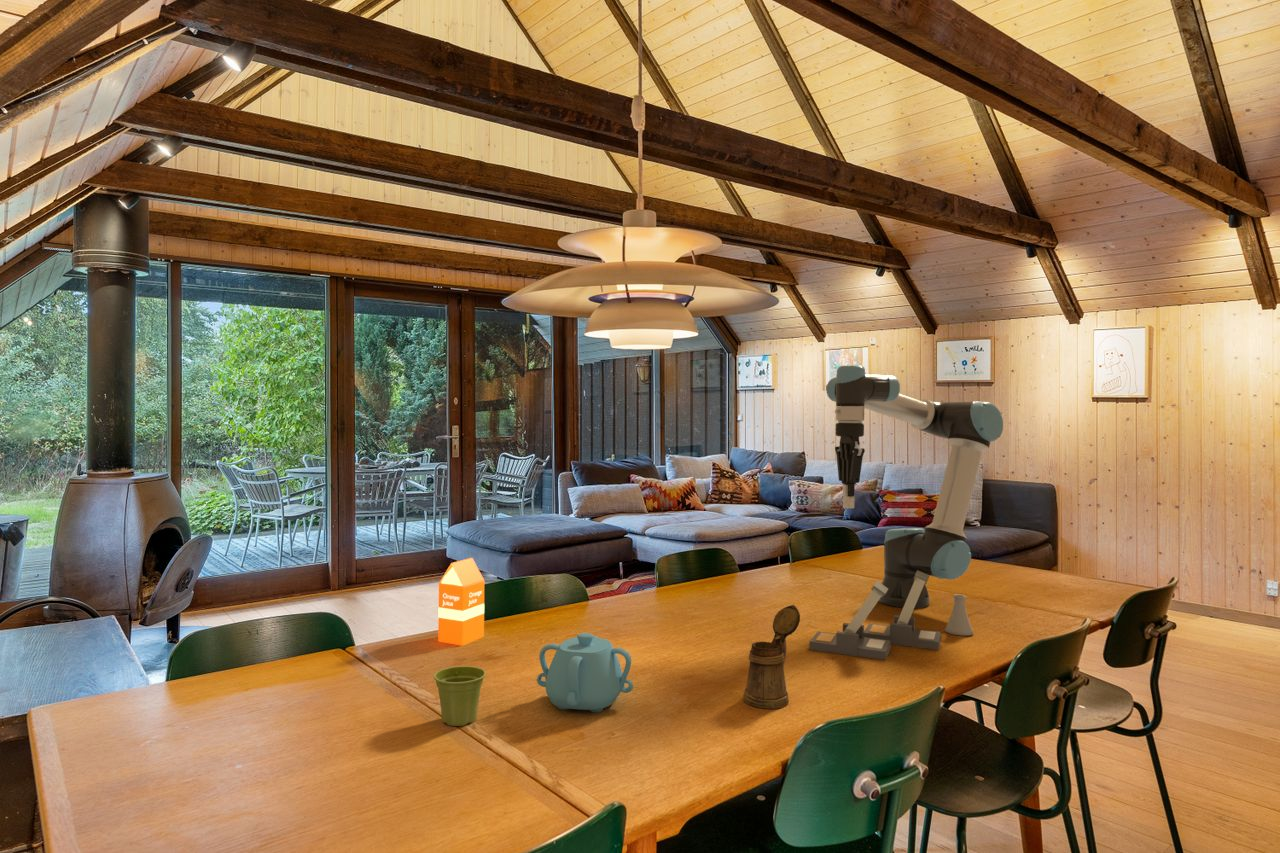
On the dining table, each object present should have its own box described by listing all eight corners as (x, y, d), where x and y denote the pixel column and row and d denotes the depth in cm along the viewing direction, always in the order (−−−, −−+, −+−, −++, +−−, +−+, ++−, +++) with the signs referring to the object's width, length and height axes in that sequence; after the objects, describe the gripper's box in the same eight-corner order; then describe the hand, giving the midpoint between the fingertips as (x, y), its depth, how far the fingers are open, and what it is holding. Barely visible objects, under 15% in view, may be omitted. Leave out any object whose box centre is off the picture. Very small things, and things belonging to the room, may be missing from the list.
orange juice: (484, 636, 196) (485, 558, 195) (462, 645, 188) (463, 564, 187) (459, 632, 199) (460, 555, 199) (437, 641, 191) (438, 561, 191)
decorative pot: (639, 710, 148) (641, 640, 148) (562, 724, 140) (563, 650, 140) (603, 683, 162) (605, 620, 162) (532, 695, 155) (533, 628, 155)
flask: (968, 629, 208) (969, 593, 208) (977, 637, 200) (978, 599, 200) (941, 628, 208) (941, 592, 208) (949, 636, 201) (949, 598, 201)
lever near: (840, 633, 187) (873, 585, 183) (844, 627, 192) (877, 580, 189) (851, 642, 186) (885, 593, 182) (855, 635, 191) (888, 588, 188)
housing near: (809, 649, 188) (809, 629, 188) (817, 638, 197) (818, 619, 197) (885, 660, 180) (885, 639, 180) (890, 648, 189) (891, 628, 189)
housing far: (863, 640, 196) (863, 621, 196) (869, 630, 205) (869, 612, 205) (938, 650, 188) (938, 630, 188) (940, 639, 198) (941, 620, 198)
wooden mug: (811, 696, 156) (812, 608, 156) (769, 712, 147) (771, 619, 147) (776, 684, 163) (777, 600, 163) (734, 699, 154) (735, 610, 154)
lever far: (893, 626, 195) (915, 574, 193) (896, 621, 200) (917, 570, 198) (905, 632, 194) (927, 579, 191) (908, 626, 199) (929, 575, 197)
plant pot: (438, 710, 146) (438, 665, 146) (488, 709, 147) (488, 665, 147) (428, 731, 137) (429, 682, 137) (482, 729, 138) (482, 682, 137)
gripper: (826, 421, 215) (825, 505, 215) (848, 422, 202) (846, 511, 202) (851, 422, 216) (850, 505, 217) (874, 422, 204) (872, 510, 204)
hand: (848, 508), depth 210 cm, fingers closed
